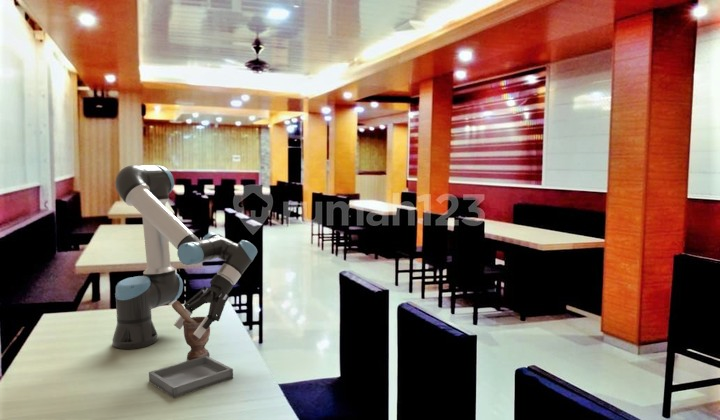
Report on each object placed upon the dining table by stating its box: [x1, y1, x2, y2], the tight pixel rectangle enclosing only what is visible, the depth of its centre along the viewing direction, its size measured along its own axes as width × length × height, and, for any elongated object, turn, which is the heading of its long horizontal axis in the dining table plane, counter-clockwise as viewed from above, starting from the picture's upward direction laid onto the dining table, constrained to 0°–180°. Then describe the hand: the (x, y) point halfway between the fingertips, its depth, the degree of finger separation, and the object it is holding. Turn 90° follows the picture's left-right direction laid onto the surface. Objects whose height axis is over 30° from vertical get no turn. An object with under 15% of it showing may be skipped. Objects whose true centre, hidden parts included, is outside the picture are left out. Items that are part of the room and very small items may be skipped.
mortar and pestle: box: [171, 300, 211, 361], centre depth 178 cm, size 12×9×20 cm
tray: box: [148, 356, 234, 399], centre depth 161 cm, size 16×19×3 cm
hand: (186, 331), depth 176 cm, fingers open, 13 cm apart
